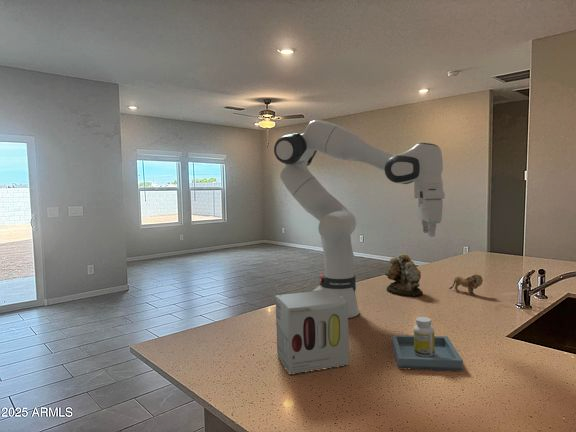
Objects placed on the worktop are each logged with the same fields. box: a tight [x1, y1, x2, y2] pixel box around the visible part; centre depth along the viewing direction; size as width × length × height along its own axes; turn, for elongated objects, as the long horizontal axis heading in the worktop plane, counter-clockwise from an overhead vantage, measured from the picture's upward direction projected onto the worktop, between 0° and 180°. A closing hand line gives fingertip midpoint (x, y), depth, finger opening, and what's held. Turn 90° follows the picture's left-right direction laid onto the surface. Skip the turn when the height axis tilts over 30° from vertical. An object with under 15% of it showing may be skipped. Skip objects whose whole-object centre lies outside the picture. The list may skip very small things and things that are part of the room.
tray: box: [391, 334, 464, 372], centre depth 109 cm, size 16×16×3 cm
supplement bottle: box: [413, 316, 435, 357], centre depth 109 cm, size 5×5×10 cm
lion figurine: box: [448, 274, 484, 297], centre depth 167 cm, size 15×5×9 cm, turn 38°
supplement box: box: [275, 289, 350, 375], centre depth 108 cm, size 17×13×18 cm
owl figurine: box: [384, 253, 424, 298], centre depth 172 cm, size 18×12×17 cm, turn 39°
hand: (428, 234), depth 129 cm, fingers open, 8 cm apart
